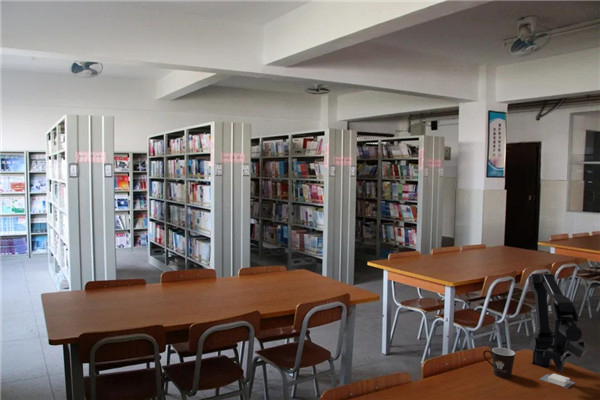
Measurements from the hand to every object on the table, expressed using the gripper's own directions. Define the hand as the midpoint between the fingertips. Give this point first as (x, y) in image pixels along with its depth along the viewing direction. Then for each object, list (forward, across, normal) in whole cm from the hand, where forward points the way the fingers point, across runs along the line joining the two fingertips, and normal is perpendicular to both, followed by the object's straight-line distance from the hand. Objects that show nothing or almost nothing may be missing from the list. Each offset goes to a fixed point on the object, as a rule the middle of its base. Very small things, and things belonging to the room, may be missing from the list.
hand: (559, 371), depth 186 cm
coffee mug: (+5, -10, +19) cm, 22 cm away
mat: (+5, 0, +1) cm, 5 cm away
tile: (+3, +2, 0) cm, 4 cm away
